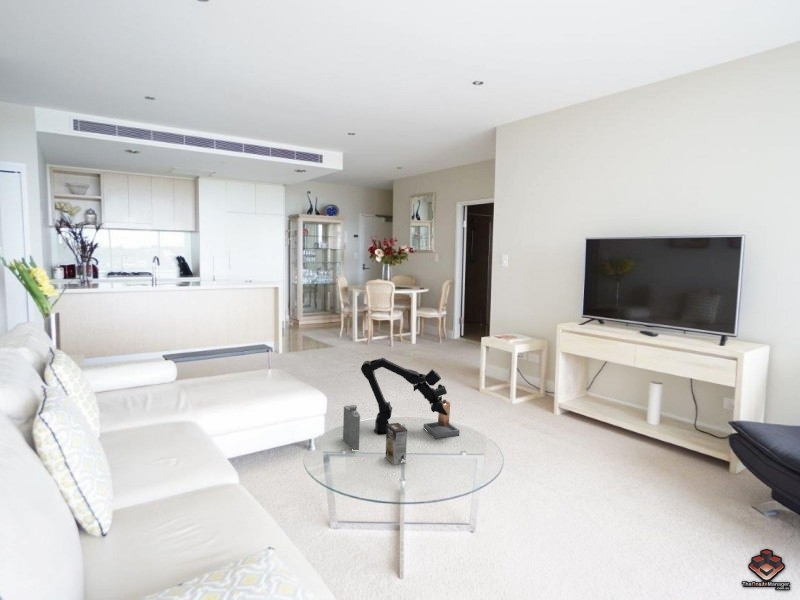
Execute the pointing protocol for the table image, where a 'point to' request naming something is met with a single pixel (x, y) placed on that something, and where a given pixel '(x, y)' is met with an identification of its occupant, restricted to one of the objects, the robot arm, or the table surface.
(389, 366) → the robot arm
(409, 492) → the table surface
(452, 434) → the fill tray
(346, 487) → the table surface
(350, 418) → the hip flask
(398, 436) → the coffee box
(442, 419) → the copper bottle
